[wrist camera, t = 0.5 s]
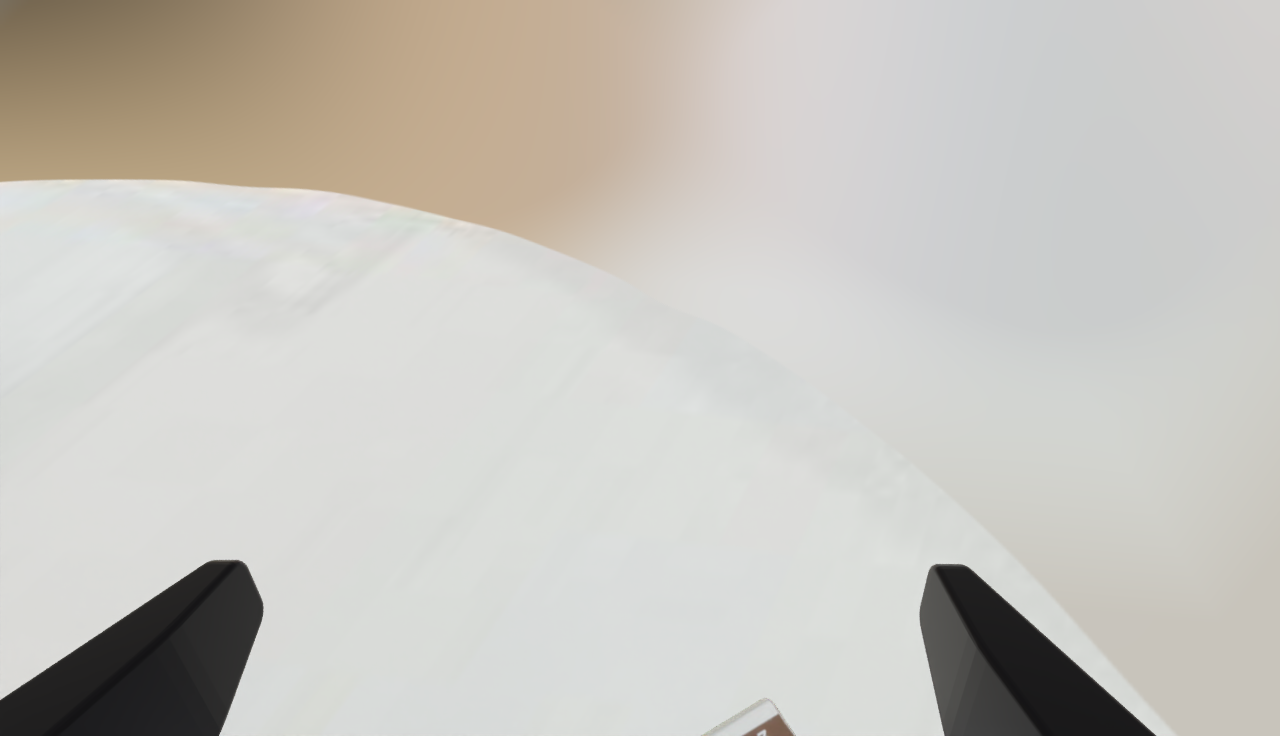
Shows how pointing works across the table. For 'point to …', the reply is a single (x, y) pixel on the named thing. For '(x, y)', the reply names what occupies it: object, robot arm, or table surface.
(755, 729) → the skincare box
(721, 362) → the table surface
